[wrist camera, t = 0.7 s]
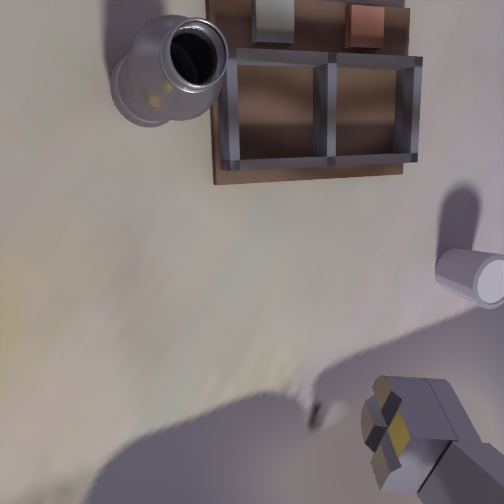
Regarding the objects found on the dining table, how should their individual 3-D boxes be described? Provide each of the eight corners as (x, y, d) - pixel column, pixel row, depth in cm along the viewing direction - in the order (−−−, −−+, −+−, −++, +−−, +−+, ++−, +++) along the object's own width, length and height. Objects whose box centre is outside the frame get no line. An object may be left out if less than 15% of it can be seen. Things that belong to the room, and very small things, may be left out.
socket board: (205, -7, 45) (217, -21, 41) (404, 10, 53) (429, 0, 49) (213, 184, 49) (226, 187, 45) (397, 173, 57) (420, 175, 53)
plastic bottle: (179, 60, 45) (258, 0, 27) (174, 133, 46) (246, 122, 28) (109, 47, 43) (144, -28, 24) (105, 124, 44) (136, 107, 26)
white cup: (423, 263, 61) (466, 276, 55) (461, 233, 62) (506, 243, 56) (441, 303, 64) (484, 320, 57) (477, 273, 65) (522, 287, 59)
